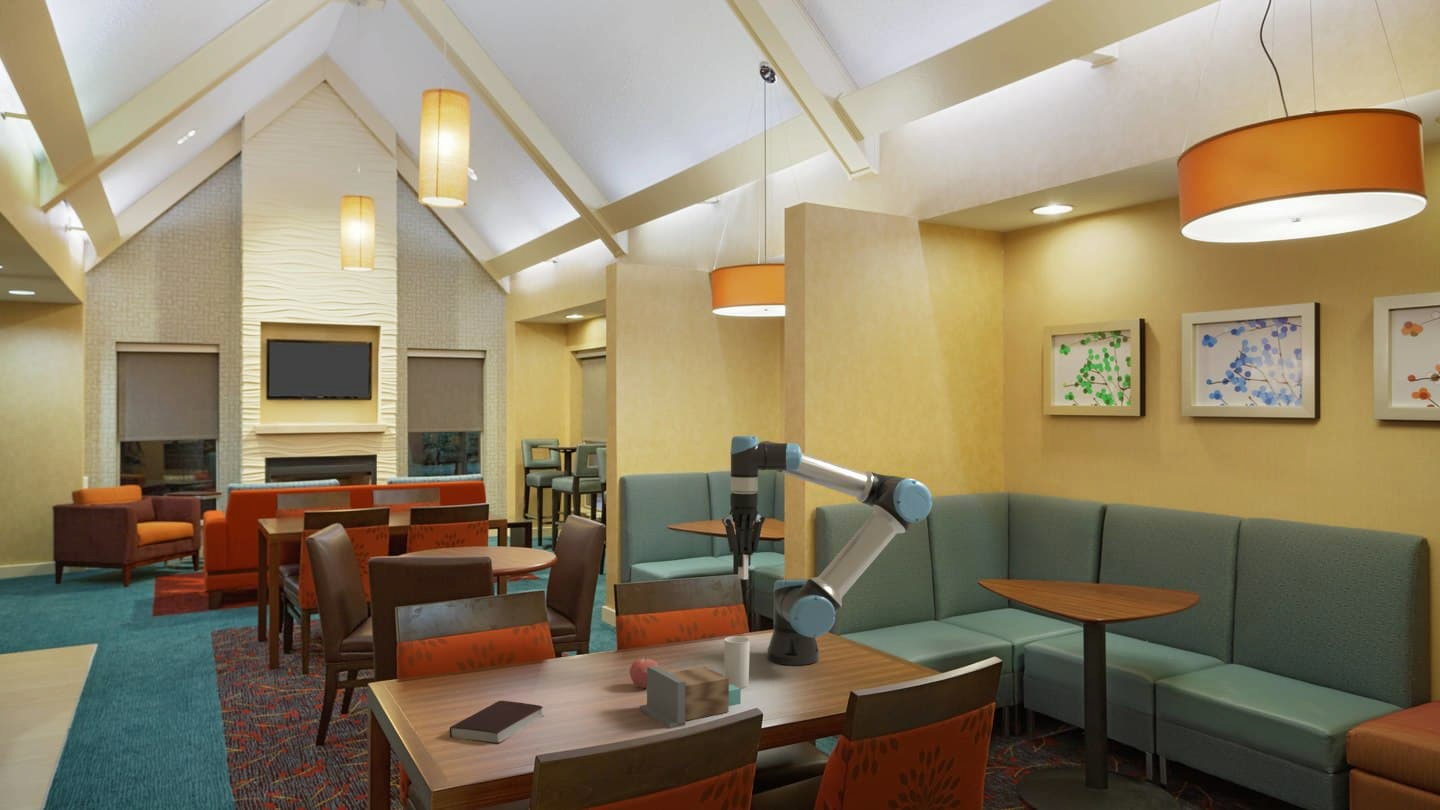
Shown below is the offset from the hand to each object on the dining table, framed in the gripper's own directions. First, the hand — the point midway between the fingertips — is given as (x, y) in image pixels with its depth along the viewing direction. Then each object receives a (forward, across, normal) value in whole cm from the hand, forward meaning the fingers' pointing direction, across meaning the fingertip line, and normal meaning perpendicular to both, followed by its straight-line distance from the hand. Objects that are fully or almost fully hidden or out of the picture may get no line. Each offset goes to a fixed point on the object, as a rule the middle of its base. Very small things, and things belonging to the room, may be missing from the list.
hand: (743, 578), depth 246 cm
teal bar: (+27, +21, +18) cm, 38 cm away
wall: (+26, +34, +18) cm, 47 cm away
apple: (+27, +28, -4) cm, 39 cm away
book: (+27, +70, +4) cm, 75 cm away
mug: (+27, +6, +5) cm, 28 cm away
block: (+26, +26, +18) cm, 41 cm away
